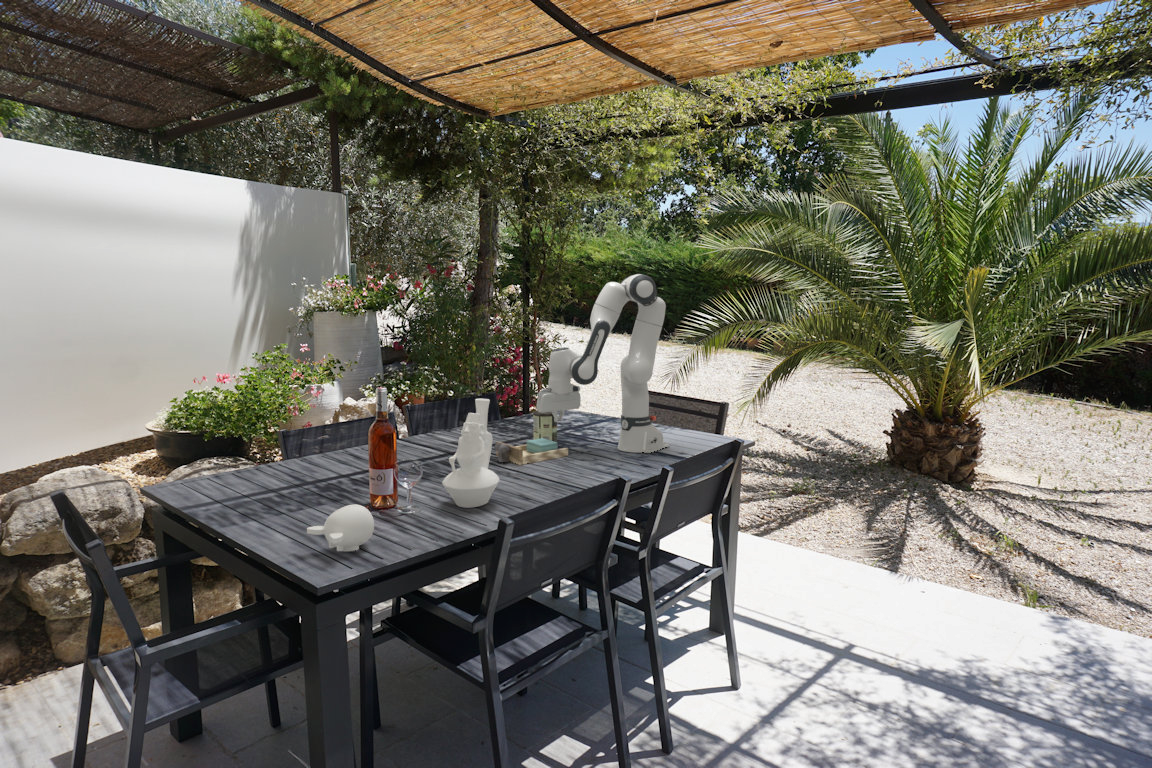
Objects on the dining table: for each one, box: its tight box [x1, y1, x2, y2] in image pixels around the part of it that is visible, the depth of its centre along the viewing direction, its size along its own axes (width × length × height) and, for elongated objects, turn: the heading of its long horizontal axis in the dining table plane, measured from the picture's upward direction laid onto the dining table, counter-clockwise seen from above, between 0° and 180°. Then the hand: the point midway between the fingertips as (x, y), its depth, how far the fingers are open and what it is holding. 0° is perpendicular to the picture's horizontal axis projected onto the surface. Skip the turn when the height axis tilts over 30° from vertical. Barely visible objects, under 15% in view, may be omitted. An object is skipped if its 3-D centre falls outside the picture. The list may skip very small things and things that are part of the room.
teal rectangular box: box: [526, 438, 559, 453], centre depth 287 cm, size 8×10×4 cm
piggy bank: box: [306, 504, 375, 552], centre depth 186 cm, size 12×12×15 cm
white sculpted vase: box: [441, 397, 500, 509], centre depth 224 cm, size 18×22×32 cm
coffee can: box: [532, 409, 558, 443], centre depth 305 cm, size 10×10×14 cm
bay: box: [494, 441, 569, 466], centre depth 282 cm, size 29×16×7 cm, turn 129°
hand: (558, 421), depth 291 cm, fingers closed
